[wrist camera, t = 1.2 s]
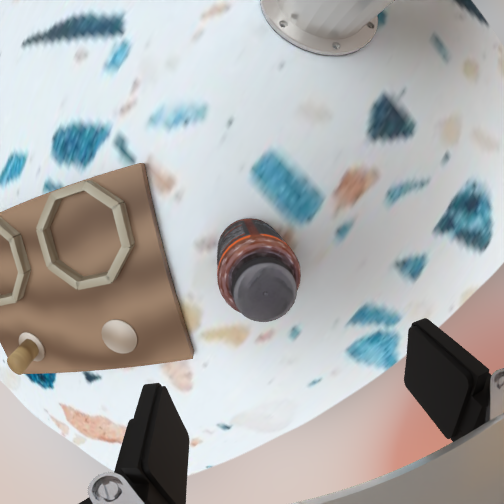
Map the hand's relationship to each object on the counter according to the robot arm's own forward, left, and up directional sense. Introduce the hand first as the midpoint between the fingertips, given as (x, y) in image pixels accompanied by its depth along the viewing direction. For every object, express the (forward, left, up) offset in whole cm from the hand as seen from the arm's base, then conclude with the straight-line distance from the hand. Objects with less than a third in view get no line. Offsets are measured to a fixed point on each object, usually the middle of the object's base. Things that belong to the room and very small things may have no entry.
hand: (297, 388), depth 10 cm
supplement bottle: (0, 0, -20) cm, 20 cm away
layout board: (0, -21, -20) cm, 29 cm away
